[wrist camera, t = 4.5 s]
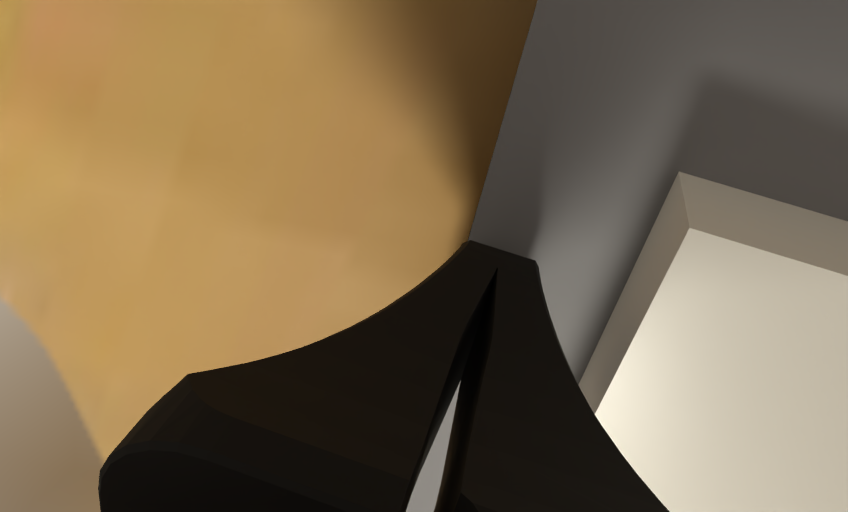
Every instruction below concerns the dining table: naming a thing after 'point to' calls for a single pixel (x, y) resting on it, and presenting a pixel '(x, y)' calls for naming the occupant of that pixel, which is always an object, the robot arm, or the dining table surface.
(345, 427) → the robot arm
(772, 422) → the tile
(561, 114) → the grey flat slab
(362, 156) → the dining table surface
